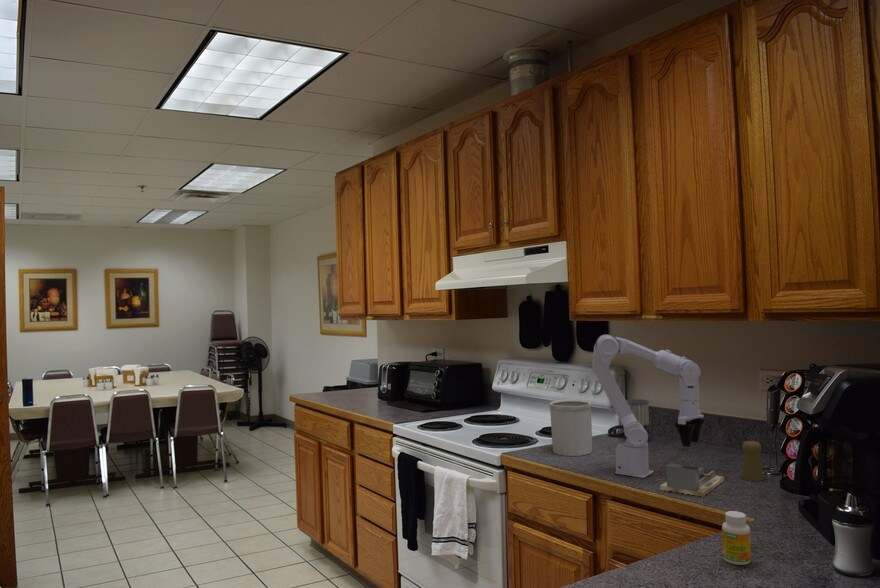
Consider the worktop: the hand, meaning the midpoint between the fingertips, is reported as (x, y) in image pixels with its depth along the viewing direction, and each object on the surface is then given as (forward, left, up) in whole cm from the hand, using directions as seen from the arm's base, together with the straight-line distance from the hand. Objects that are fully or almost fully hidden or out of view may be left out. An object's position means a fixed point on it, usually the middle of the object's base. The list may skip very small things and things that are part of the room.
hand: (690, 444), depth 201 cm
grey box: (+4, -18, -8) cm, 21 cm away
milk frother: (-36, +37, -10) cm, 52 cm away
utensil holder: (-44, +6, -10) cm, 45 cm away
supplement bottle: (+29, -58, -10) cm, 66 cm away
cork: (+16, +6, -10) cm, 20 cm away
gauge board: (+4, -11, -9) cm, 15 cm away
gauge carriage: (+5, -11, -8) cm, 14 cm away
